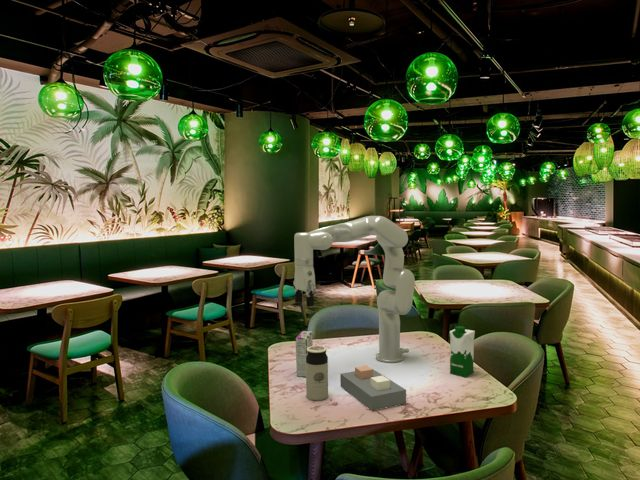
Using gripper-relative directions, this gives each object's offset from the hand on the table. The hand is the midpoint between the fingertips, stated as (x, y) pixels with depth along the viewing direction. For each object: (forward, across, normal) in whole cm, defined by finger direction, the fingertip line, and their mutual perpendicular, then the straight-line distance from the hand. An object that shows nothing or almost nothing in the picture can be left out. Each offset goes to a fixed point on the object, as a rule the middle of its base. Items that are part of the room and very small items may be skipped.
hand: (304, 304), depth 185 cm
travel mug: (+30, -20, +6) cm, 37 cm away
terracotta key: (+27, -24, -13) cm, 38 cm away
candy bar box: (+30, +4, -2) cm, 31 cm away
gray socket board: (+30, -30, -12) cm, 44 cm away
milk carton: (+30, -32, -57) cm, 72 cm away
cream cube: (+27, -36, -11) cm, 46 cm away
